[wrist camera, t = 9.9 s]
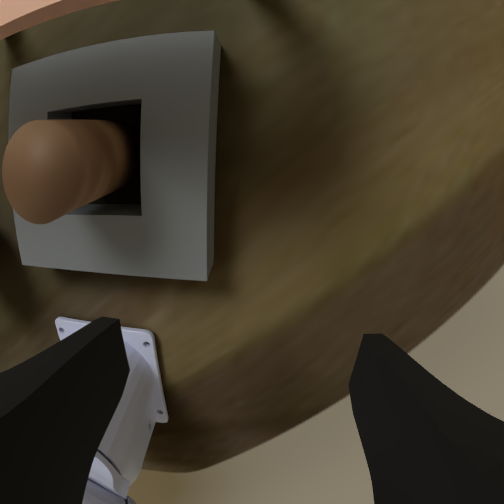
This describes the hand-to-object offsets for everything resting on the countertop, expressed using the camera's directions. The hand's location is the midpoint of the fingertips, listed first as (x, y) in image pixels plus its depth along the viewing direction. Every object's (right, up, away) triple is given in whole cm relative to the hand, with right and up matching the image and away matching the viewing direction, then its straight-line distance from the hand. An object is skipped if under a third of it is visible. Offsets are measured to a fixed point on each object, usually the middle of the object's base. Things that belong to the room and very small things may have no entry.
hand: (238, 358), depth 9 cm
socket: (-7, +8, +7) cm, 13 cm away
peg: (-7, +8, +7) cm, 13 cm away
